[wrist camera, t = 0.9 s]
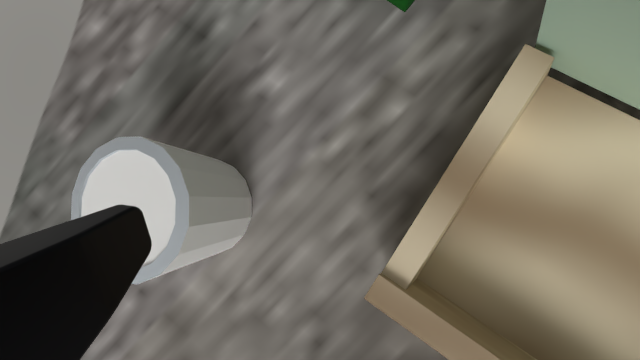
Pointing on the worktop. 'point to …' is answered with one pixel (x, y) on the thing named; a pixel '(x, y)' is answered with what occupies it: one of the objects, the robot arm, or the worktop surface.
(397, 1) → the milk carton
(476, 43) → the worktop surface
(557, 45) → the sage green panel
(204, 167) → the shot glass
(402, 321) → the beige open tray
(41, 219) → the worktop surface
